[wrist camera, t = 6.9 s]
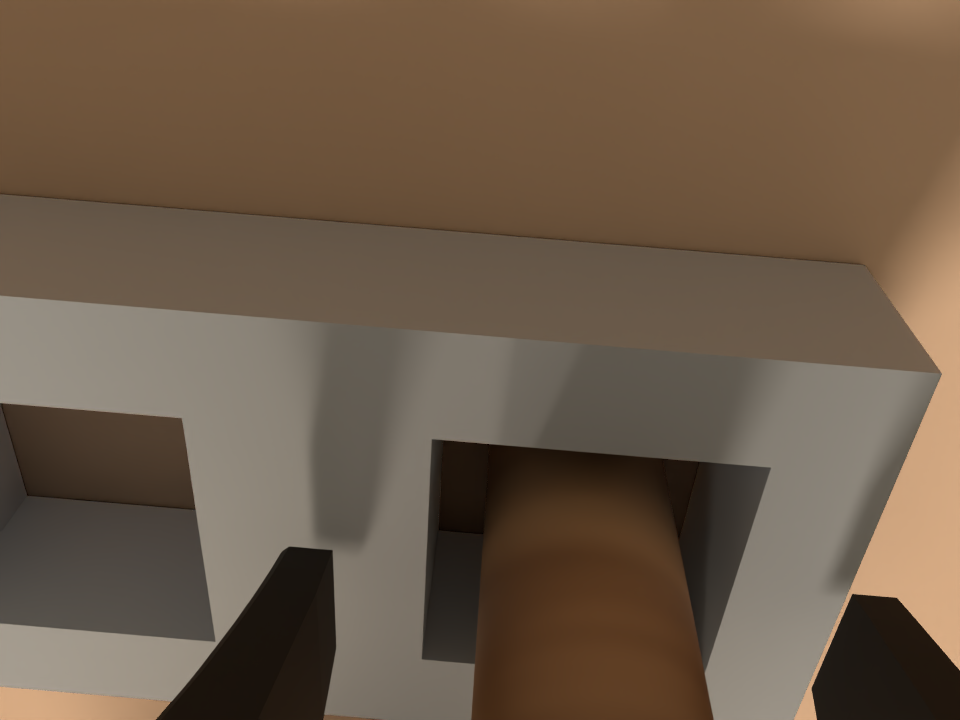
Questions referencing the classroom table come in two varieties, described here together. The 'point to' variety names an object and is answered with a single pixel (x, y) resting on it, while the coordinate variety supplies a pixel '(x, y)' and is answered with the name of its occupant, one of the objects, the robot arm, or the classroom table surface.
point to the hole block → (429, 435)
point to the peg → (583, 593)
